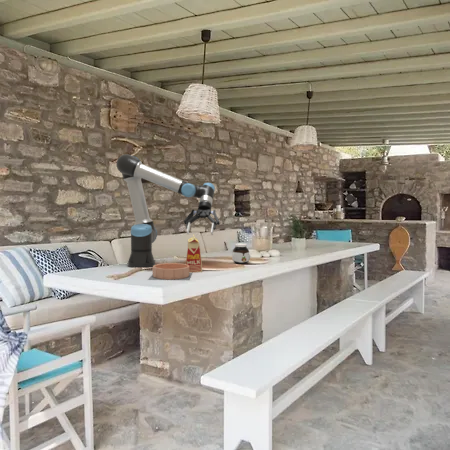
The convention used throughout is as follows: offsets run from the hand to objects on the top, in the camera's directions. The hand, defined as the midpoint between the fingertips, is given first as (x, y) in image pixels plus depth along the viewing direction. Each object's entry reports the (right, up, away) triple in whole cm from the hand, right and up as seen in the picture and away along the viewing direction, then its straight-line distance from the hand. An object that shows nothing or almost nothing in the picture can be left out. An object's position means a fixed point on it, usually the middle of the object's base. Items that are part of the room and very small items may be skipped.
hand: (199, 233), depth 242 cm
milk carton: (-3, -21, -7) cm, 22 cm away
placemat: (-13, -21, -22) cm, 33 cm away
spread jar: (+24, -19, +26) cm, 40 cm away
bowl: (-13, -21, -22) cm, 33 cm away
